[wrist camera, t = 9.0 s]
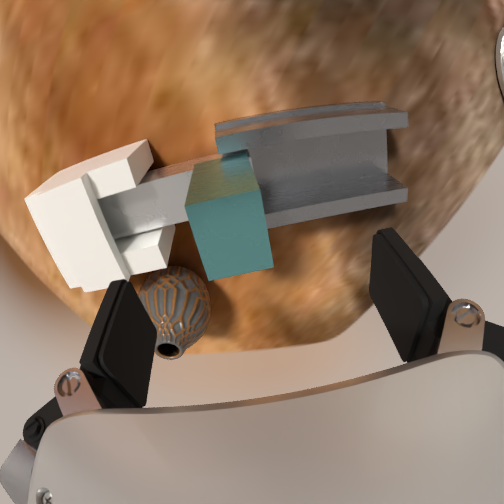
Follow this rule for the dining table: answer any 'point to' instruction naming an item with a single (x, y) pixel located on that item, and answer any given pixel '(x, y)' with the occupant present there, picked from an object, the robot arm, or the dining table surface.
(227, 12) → the dining table surface
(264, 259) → the teal-tipped grey beam
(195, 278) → the vase
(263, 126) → the guide channel
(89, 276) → the socket block
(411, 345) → the robot arm
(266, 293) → the dining table surface
